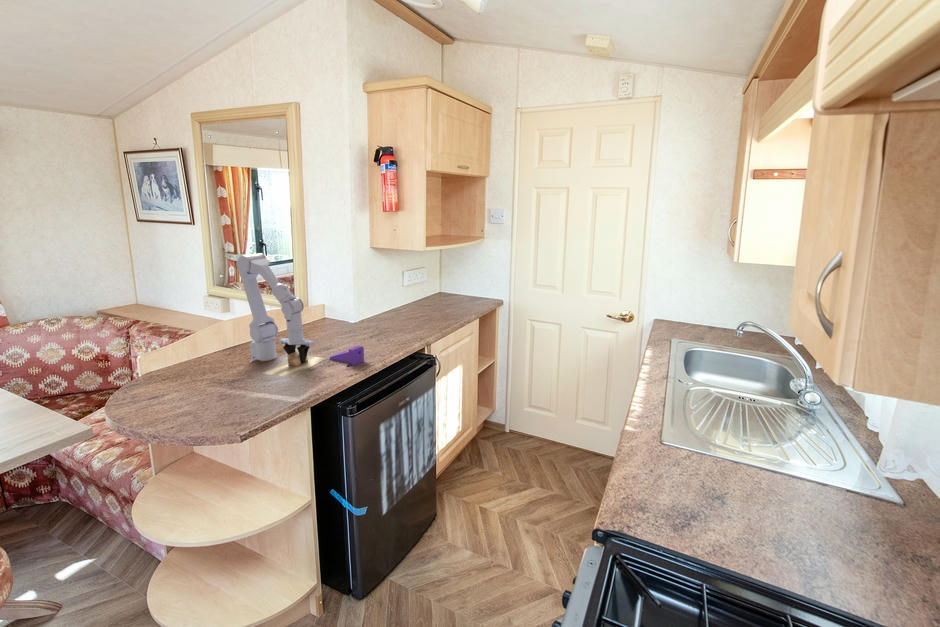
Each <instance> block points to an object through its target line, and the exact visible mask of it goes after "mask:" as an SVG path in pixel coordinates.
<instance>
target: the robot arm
mask: <svg viewBox="0 0 940 627" xmlns="http://www.w3.org/2000/svg"><path fill="white" fill-rule="evenodd" d="M269 263H270V261H269V259H268V258H267V257H266V254H264V253H262V252H258V253H253V254H246V255H240V256H238V258H237V260H236V263H235V264H236V267H237V270H238V273H239V277H240V280H241V283H242V286H243V288H244V292H245V296H246V299H247V301H248V306H249V308H250V311H251V315H252V318H253V319H252V320H251V321H250V323H249V324H248V327H249V336H250V338H251V340H252V341H251V342H250V344H249V350H250V357H251V360H249V361H250V363H252V362H255V361H261V362H263V361H264V362H265V361H267V362H268V361H273V360H275V359H277V348H276V339H277V336H278V333H279V327H278V325H277V324H276V322H275V320H274V317H272V316H270V315H268V313H267V310H266V306H265V304H264V300H263V297H262V296H263V295H262V294H261V291H260V287H259V283H258V280H257V277H258V276H259V275H260V276H261V278H262V279H263V280H265V282H266V283H267V284H268V285H269V286H270V287H271V289H272V290H271V294H272V295H273V297H275V299H276V301H278V302H279V304H280V305H281V307H280V309H281V312H282V314H283V316H284V319H285V321H286V330H287V331H286V332H287V338H286V337H283V338H282V337H281V338H279V339H278V344H279V345H284V346H283V350H284V351H285V353H286V354H287V355H289V354H291V353H293V352H295V351H297V350H298V352H299V355H300V361H301V364H303V363H305V362H306V356H308V353H309V350H310V348H312V347H313V346H315V344H314V343H315V342H314V340H309V339H306V338H304V330H303V320H302V312H303V310H304V308H305V307H304V302H303V301H302V299H301V297H300V298H299V297H297V296H295V295H294V294H293V293H292V292H291V290H290V289H289V288H288V287H287V285H286V284H284V283H281V282H280V281H279V280H278V277H276V275H275V272H274V271H273V270H272V269H271V267H270V266H269ZM297 346H298V347H297ZM296 349H297V350H296Z"/></svg>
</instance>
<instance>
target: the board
mask: <svg viewBox="0 0 940 627" xmlns="http://www.w3.org/2000/svg"><path fill="white" fill-rule="evenodd" d="M307 357H308V361H307V362H306V363H304V364H302V365H300V366H298V367H291V366H288V359H287V360H285V361H283V362H281V363H279V364H277V365H275V366H273V367H271V368H270V369H268V370H265V371H264V372H262V373H261V374H262V375H270V376H277V377H278V376H280V377H286V378H287V377H288V378H294V377H297V375H299V374H302V373H303V372H305V371H307V370H308V369H310V368H311V367H313V366H315V365H317V364H318V363H320V362H322V361H324V360H325V359H326V357H320V356H319V357H318V356H309V355H307Z"/></svg>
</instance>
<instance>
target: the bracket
mask: <svg viewBox="0 0 940 627" xmlns="http://www.w3.org/2000/svg"><path fill="white" fill-rule="evenodd" d="M329 360H332V361H336V362H341V363H347V364H348V366H350V367H355V366H357V365H359V364H361V363H364V362H365V349H364V347H363V346H362V345H355V346H353V347H351V348H349V349H348V351H346V350H344V351H340V352H338V353H336V354H334V355H332V356H330V357H329Z"/></svg>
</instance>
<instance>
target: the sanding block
mask: <svg viewBox="0 0 940 627" xmlns="http://www.w3.org/2000/svg"><path fill="white" fill-rule="evenodd" d="M307 356H308V355H307ZM307 356H306V362H307V361H308V357H307ZM286 357H287V360H288V366H291V367H298V366H300V365H302V364H301V361H300V355H299V352H298V350H295V352H293V353H291V354H289V355H288V354H287V356H286ZM306 362H305V363H306ZM303 364H304V363H303Z"/></svg>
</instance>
